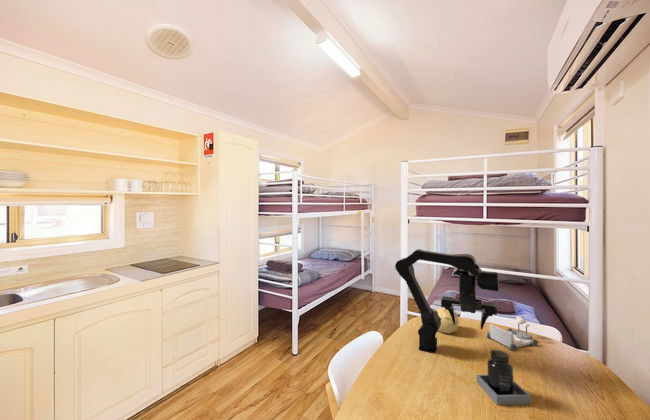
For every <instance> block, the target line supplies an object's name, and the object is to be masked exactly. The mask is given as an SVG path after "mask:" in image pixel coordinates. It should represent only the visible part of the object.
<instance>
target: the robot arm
mask: <svg viewBox="0 0 650 420" xmlns="http://www.w3.org/2000/svg"><path fill="white" fill-rule="evenodd" d="M420 260H421V261H427V262H433V263H437V264H444V265H447V266H452V267H453V268H455V269H456V270H455V271H454V272H453V275H455V276H458V300H453V297H452V296H442V297H441V298H440V308H444V307H445V309H446V310H448V311H449V313H450V315H451V317H452V320H453V323H454V325H455V315H454V311H455V310H454V306H457V307H460V311H461V312H464V313H466V312H467V313H470V314H476V312H477V311H479V310H481V316H480V317H481V318H480V330H483V328H484V326H485V324H486V321H487V320H488V318H489V317H493V316H497V315H498V311H497V306H496V304H495V303H494V302H489V301H482V299H477V294H476V293H477V291H476V290H477V287H478V288H479V289H480V290H483V291H484V290H485V291H490V292H491V291H493V292H497V293H498V292H499V290H500V289H499V287H500V286H499V275H498V274H499V273H498V272H495V271H492V272H491V271H483V270H482V269H481V267H479V265H478V264H477V260H476V258H475V257H474V256H473V255H472V254H470V253H456V254H449V253H443V252H435V251H429V250H424V249H423V250H422V249H416V250H414V251H413V252H412V253H411V254H409V255H408V256H406V257H402V258H401V259H399V260H397V261H396V262H395V264H394V265H395V266H394V267H395V270H396V272H397V273H398V274H399V276H400V277H401V278H402V279H403V280H404V281H405V283H406V285H407V287H408V289H409V291H410V293H411V296H412V298H413V301H414V302H415V304H416V306H417V309H418V310H419V312H420V319H421V324H422V325H421V326H419V329H418V330H417V334H418V337H419V338H418V339H419V340H418V343H419V345H418V350H419V351H422V352H427V353H431V354H436V351H437V350H438V337H436V336H437V333H438V332H439V331H438V330H439V328H440V326H441V318H440V317H439V315H438V312H437V310H436V309H435V310H436V311H435V310H433V309H432V308H431V307H430V304H429V303H428V300H427V299H426V296H425V294H424V292H423V289H422V288H421V286H420V284H419V282H418V280H417V278H416V274H415V268H414V265H415V264H416V263H418V261H420ZM476 279H477V280H476ZM476 281H477V282H476ZM476 285H477V287H476Z"/></svg>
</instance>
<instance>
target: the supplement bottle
mask: <svg viewBox="0 0 650 420" xmlns="http://www.w3.org/2000/svg"><path fill="white" fill-rule="evenodd" d="M486 366H487V375H488V385H489V387H490V388H491V389H492V390H493V391H494V392H495V393H496V394H497V395H513V381H514V368H513V365H511V363H510V356H509V354H508V353H506V352H505V351H502V350H497V349H494V350H491V351H490V358H489V359H488V360H487V365H486Z"/></svg>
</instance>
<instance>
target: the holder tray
mask: <svg viewBox="0 0 650 420" xmlns="http://www.w3.org/2000/svg"><path fill="white" fill-rule="evenodd" d="M476 383H477V384H478V386H480V387H481V389H482V390H483V391H484V392H485V393H486V395H487V396H488V397H489V398H490V399H492V401H493V402H494V403H495V404H496V405H498V406H501V405H502V406H503V405H507V406H509V405H531V395H530V394H529V393H528V392H527V391H525V390H524V388H522V387H521V386H520V385H519V384H518V383H517V382H516V381H515V380H513V395H497V394H496V393H495V392H494V391H493V390H492V389H491V388H490V387H489V385H488V374H476Z"/></svg>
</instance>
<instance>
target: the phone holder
mask: <svg viewBox="0 0 650 420" xmlns="http://www.w3.org/2000/svg"><path fill="white" fill-rule="evenodd" d="M516 322H517V325H518V326H517V330H515V329H513V328H510V327H508V328H507V329H503V328H501V327H500V326H497V325H495V324H492V323H489V331H488V332H486V338H487V339H488V340H489V339H492V340H494V341H495V342H498V343H499V344H502V345H504V346H506V347H507V348H509V350H510V351H512V352H514V351H515V352H516V351H517V348H520V347H525V346H528V345H530V346H532V347H535V346H537V345H538V344H539V343H538V341H537V339H535V338H534V337H533V335H532V334H530V333H528V327H530V324H529V323H528V322H527V321H526V319H524V316H518V315H517V316H516ZM520 325H523V327H525V331H523V330H520Z"/></svg>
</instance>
